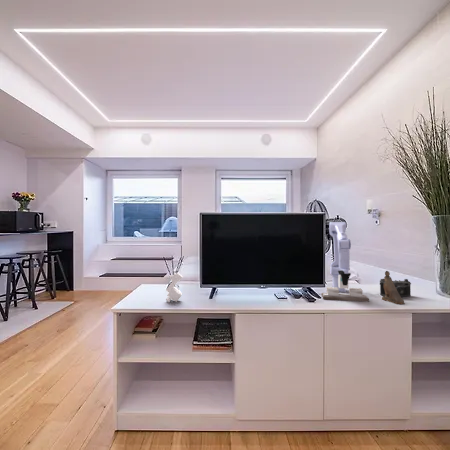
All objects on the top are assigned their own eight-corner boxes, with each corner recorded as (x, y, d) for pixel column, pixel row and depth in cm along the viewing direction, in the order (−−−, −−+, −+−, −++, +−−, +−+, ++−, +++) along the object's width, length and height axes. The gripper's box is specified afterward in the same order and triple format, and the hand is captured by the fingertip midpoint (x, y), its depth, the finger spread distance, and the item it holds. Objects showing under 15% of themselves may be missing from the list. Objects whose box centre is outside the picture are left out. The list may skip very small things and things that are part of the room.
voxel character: (159, 290, 171) (174, 269, 170) (175, 302, 171) (191, 281, 170) (156, 293, 163) (172, 271, 163) (173, 306, 163) (189, 284, 163)
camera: (384, 298, 170) (384, 281, 170) (378, 294, 179) (378, 278, 179) (417, 299, 168) (417, 281, 168) (408, 295, 178) (408, 278, 178)
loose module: (338, 286, 174) (338, 274, 174) (346, 287, 173) (346, 274, 173) (339, 288, 169) (339, 275, 169) (348, 288, 168) (348, 276, 168)
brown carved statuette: (381, 303, 168) (376, 271, 172) (389, 302, 169) (384, 271, 173) (397, 304, 157) (391, 270, 160) (406, 304, 158) (400, 269, 162)
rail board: (321, 295, 178) (321, 285, 178) (364, 297, 173) (364, 287, 173) (323, 299, 168) (323, 289, 168) (369, 301, 163) (369, 291, 163)
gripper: (334, 258, 178) (334, 281, 179) (338, 261, 164) (338, 286, 164) (347, 259, 177) (347, 281, 177) (352, 262, 163) (352, 287, 163)
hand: (344, 284), depth 171 cm, fingers closed on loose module, 5 cm apart
